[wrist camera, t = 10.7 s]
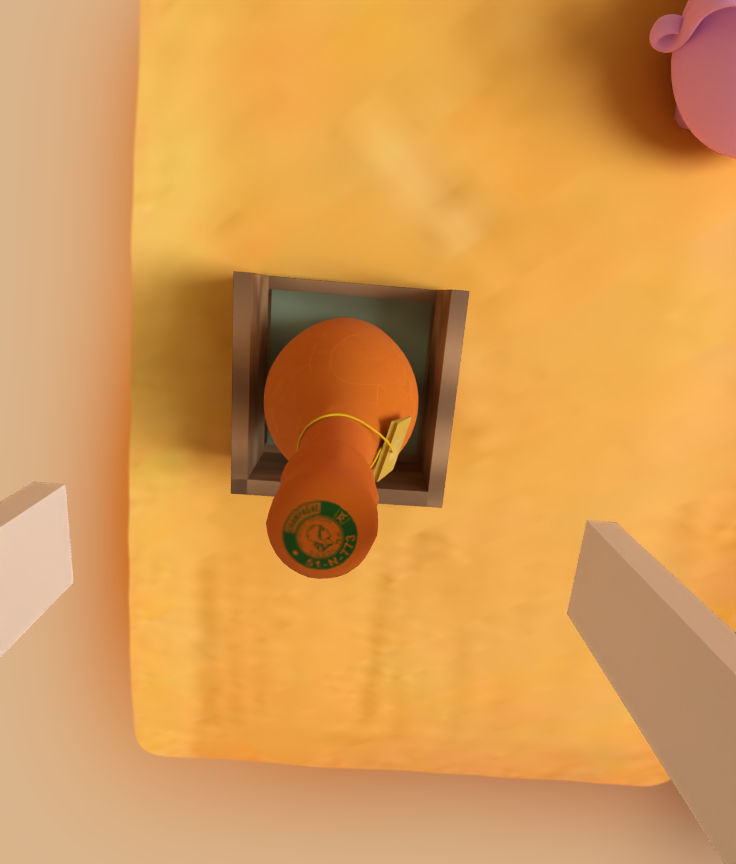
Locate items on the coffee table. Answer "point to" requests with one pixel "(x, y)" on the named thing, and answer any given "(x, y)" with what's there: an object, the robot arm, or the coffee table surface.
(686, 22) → the teapot
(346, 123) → the coffee table surface
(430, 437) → the wooden box
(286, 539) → the wine bottle
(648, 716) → the robot arm
